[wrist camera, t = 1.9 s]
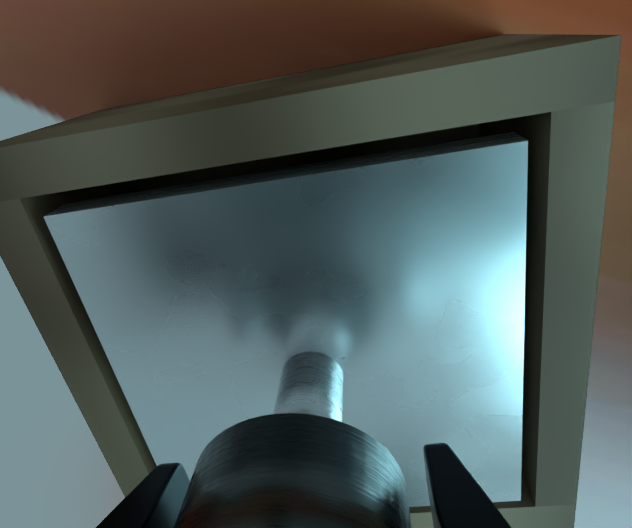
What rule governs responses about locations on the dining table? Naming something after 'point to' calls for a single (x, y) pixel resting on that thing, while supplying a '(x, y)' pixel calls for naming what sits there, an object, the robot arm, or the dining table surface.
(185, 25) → the dining table surface
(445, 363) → the plunger
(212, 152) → the frame
